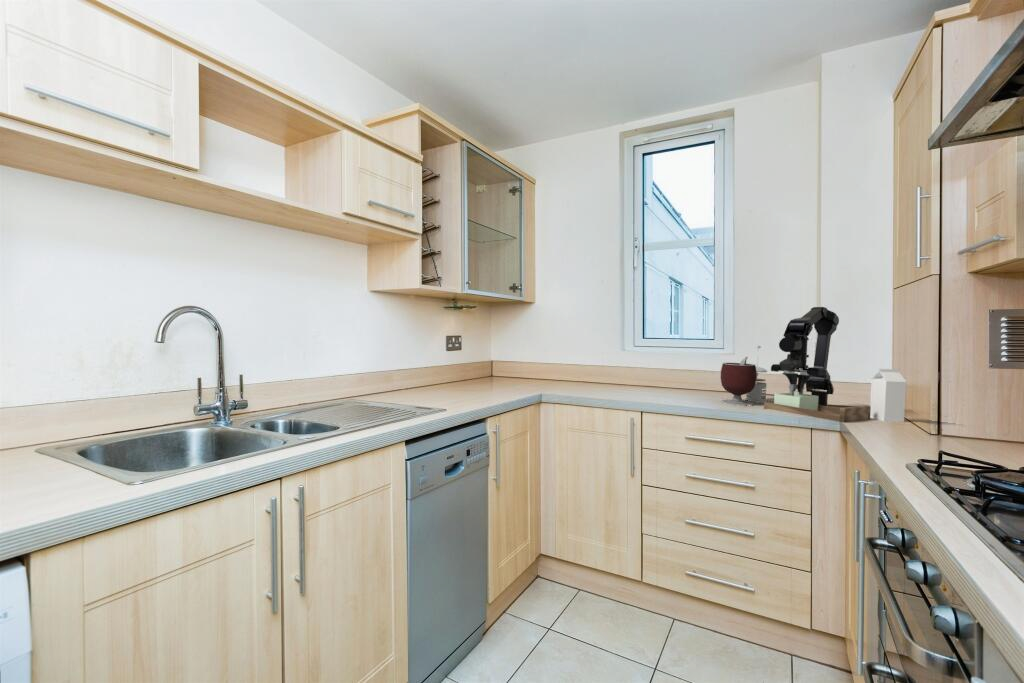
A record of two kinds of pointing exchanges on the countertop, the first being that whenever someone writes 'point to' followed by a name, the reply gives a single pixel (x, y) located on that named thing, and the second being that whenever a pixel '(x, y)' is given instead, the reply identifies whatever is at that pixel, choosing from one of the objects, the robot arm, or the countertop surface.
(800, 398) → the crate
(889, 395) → the milk carton
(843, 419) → the bay
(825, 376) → the robot arm
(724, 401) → the mate gourd
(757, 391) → the french press
